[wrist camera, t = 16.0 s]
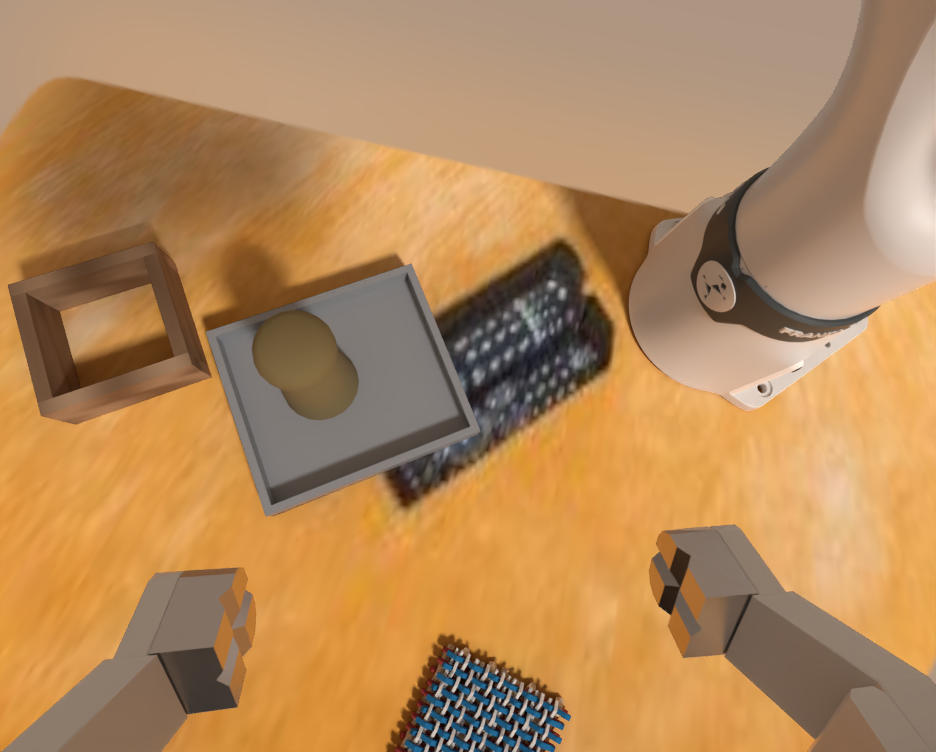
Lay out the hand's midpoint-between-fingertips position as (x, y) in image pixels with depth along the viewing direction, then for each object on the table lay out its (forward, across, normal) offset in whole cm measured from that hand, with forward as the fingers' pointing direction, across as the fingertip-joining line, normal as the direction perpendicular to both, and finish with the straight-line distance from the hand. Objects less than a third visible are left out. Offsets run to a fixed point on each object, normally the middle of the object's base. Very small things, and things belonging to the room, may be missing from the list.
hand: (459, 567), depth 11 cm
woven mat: (+13, -3, +35) cm, 37 cm away
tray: (+31, +6, +16) cm, 35 cm away
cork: (+31, +8, +15) cm, 35 cm away
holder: (+35, +23, +12) cm, 44 cm away
